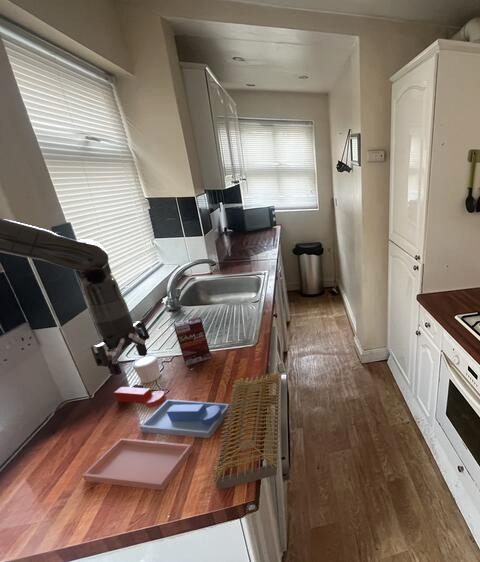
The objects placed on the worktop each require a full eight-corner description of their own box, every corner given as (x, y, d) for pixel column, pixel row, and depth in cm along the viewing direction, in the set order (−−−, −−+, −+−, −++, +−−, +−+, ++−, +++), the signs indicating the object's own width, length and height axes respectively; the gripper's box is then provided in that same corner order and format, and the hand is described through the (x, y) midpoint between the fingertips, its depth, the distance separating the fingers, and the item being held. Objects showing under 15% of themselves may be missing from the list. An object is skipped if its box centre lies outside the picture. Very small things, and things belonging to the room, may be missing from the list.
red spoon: (114, 404, 94) (109, 395, 92) (128, 392, 99) (125, 383, 97) (156, 407, 92) (153, 398, 91) (169, 395, 97) (166, 386, 95)
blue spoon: (167, 424, 85) (162, 415, 84) (180, 410, 90) (176, 401, 89) (214, 424, 83) (209, 414, 82) (225, 410, 88) (221, 400, 86)
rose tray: (85, 481, 71) (81, 475, 71) (123, 443, 81) (120, 437, 80) (163, 490, 69) (160, 484, 68) (193, 450, 78) (191, 444, 77)
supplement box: (185, 366, 110) (173, 328, 104) (184, 360, 114) (173, 322, 108) (212, 358, 114) (201, 321, 108) (210, 352, 118) (200, 315, 112)
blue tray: (142, 432, 84) (139, 426, 83) (169, 404, 93) (167, 399, 92) (210, 438, 81) (208, 432, 81) (231, 409, 91) (229, 403, 90)
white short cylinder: (167, 372, 108) (161, 355, 105) (150, 385, 101) (143, 368, 99) (151, 369, 109) (145, 353, 106) (133, 382, 103) (126, 365, 100)
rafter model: (235, 388, 99) (232, 373, 96) (282, 379, 102) (279, 364, 100) (212, 495, 67) (206, 476, 65) (280, 477, 71) (276, 458, 68)
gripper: (122, 302, 89) (140, 349, 95) (71, 327, 76) (95, 379, 82) (145, 303, 88) (161, 350, 94) (97, 328, 75) (120, 382, 81)
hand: (130, 364), depth 88 cm, fingers open, 8 cm apart
